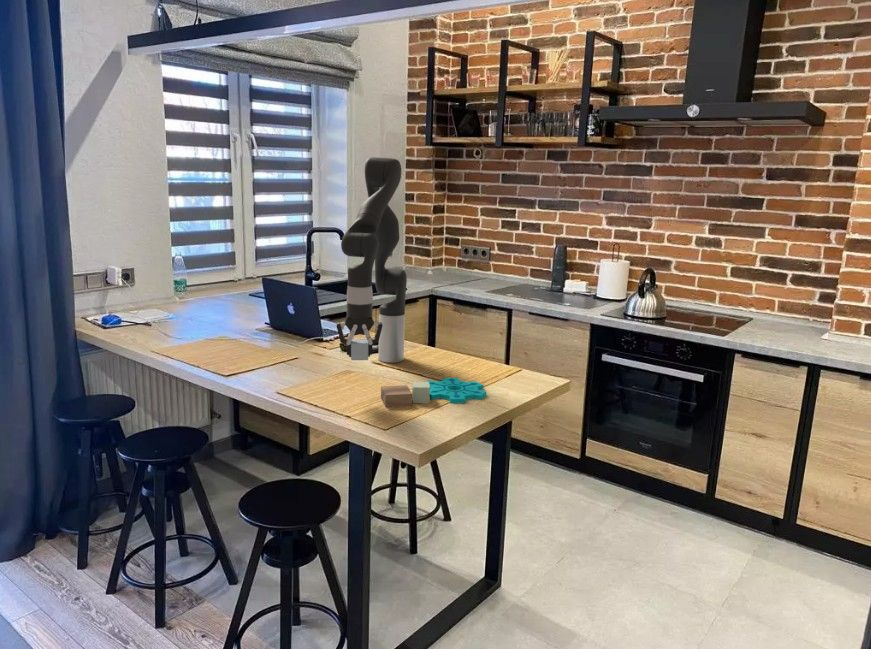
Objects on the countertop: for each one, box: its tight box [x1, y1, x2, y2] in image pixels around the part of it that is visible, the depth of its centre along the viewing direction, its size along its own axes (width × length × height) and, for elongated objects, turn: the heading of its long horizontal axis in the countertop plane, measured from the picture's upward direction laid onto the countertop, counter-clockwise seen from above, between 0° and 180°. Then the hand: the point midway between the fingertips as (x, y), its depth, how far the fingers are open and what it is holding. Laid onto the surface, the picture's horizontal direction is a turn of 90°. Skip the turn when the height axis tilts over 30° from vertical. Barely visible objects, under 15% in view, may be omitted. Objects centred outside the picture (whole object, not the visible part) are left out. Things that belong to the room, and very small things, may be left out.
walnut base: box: [380, 384, 413, 408], centre depth 196 cm, size 8×8×4 cm
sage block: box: [411, 381, 431, 404], centre depth 199 cm, size 5×5×5 cm
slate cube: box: [350, 338, 369, 361], centre depth 196 cm, size 5×5×5 cm
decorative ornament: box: [426, 377, 487, 404], centre depth 207 cm, size 20×2×20 cm
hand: (359, 355), depth 196 cm, fingers closed on slate cube, 5 cm apart
